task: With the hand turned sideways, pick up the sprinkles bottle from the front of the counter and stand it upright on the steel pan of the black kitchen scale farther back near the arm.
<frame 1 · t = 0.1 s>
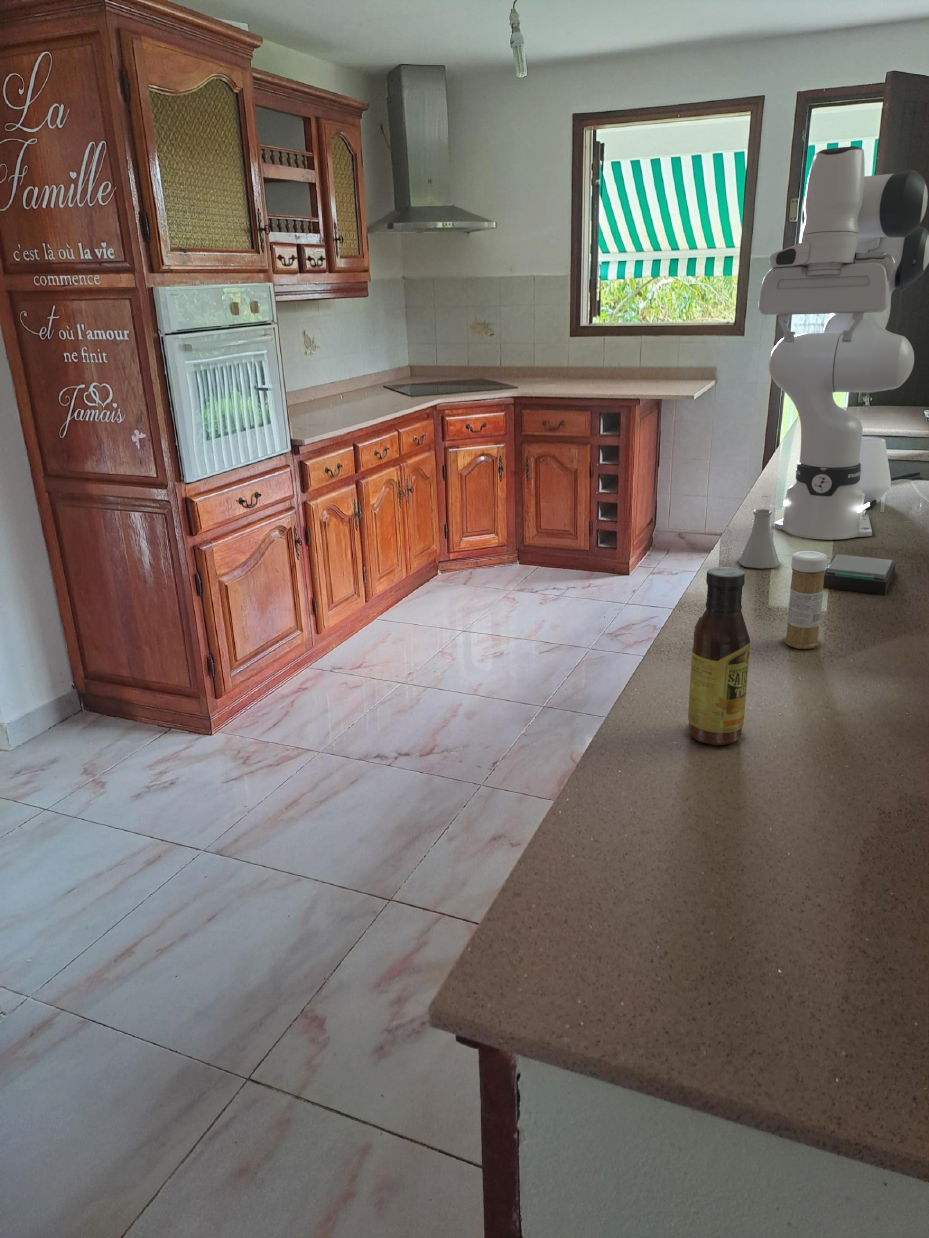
hand: (817, 342, 149), 39 cm above the counter, tool pointing down, fingers open, 8 cm apart
sauce bottle: (714, 736, 103), on the counter
flask: (758, 565, 162), on the counter
scale: (857, 580, 151), on the counter
sprinkles bottle: (801, 645, 126), on the counter
cup: (857, 500, 204), on the counter
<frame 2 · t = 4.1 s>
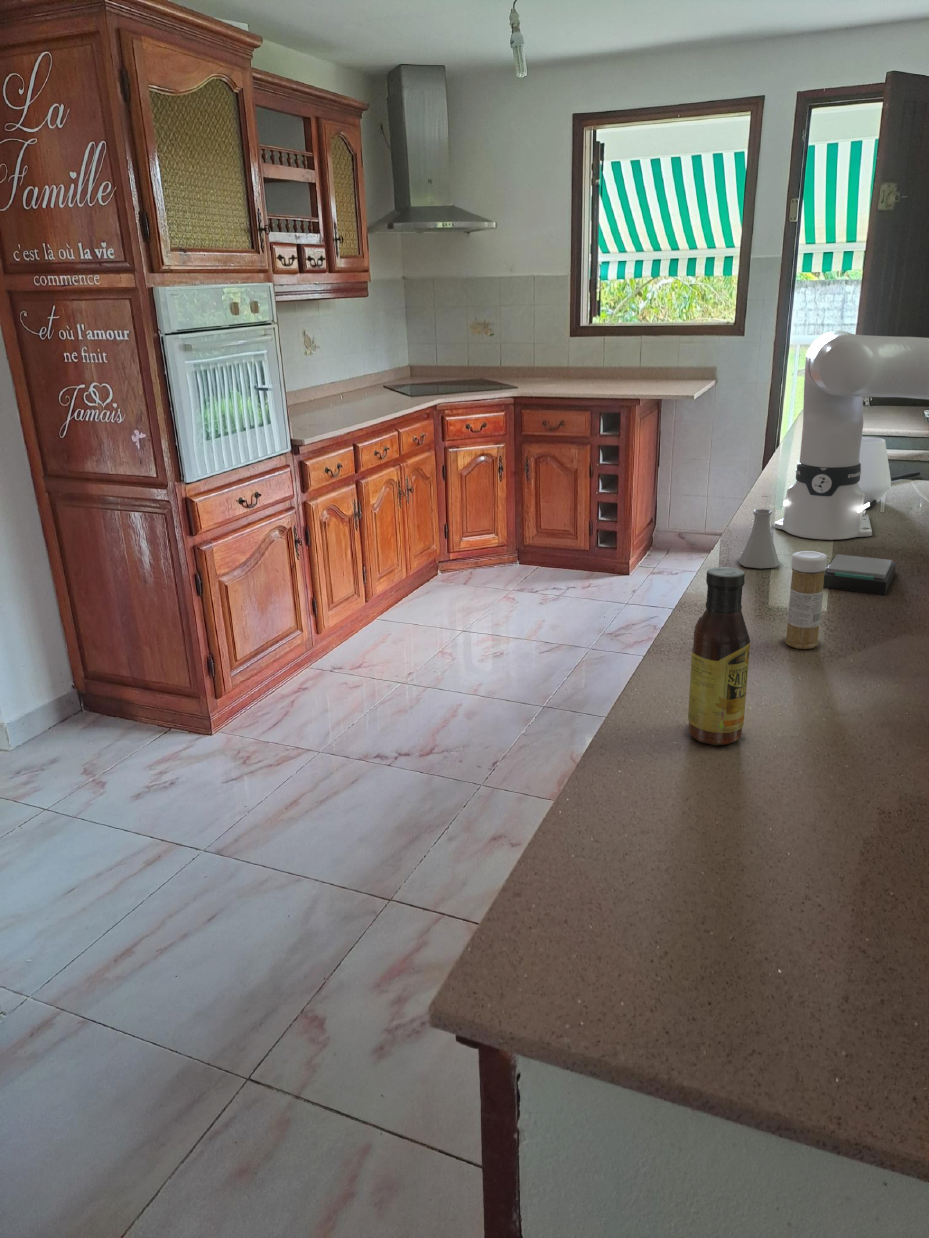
nothing on the counter moved.
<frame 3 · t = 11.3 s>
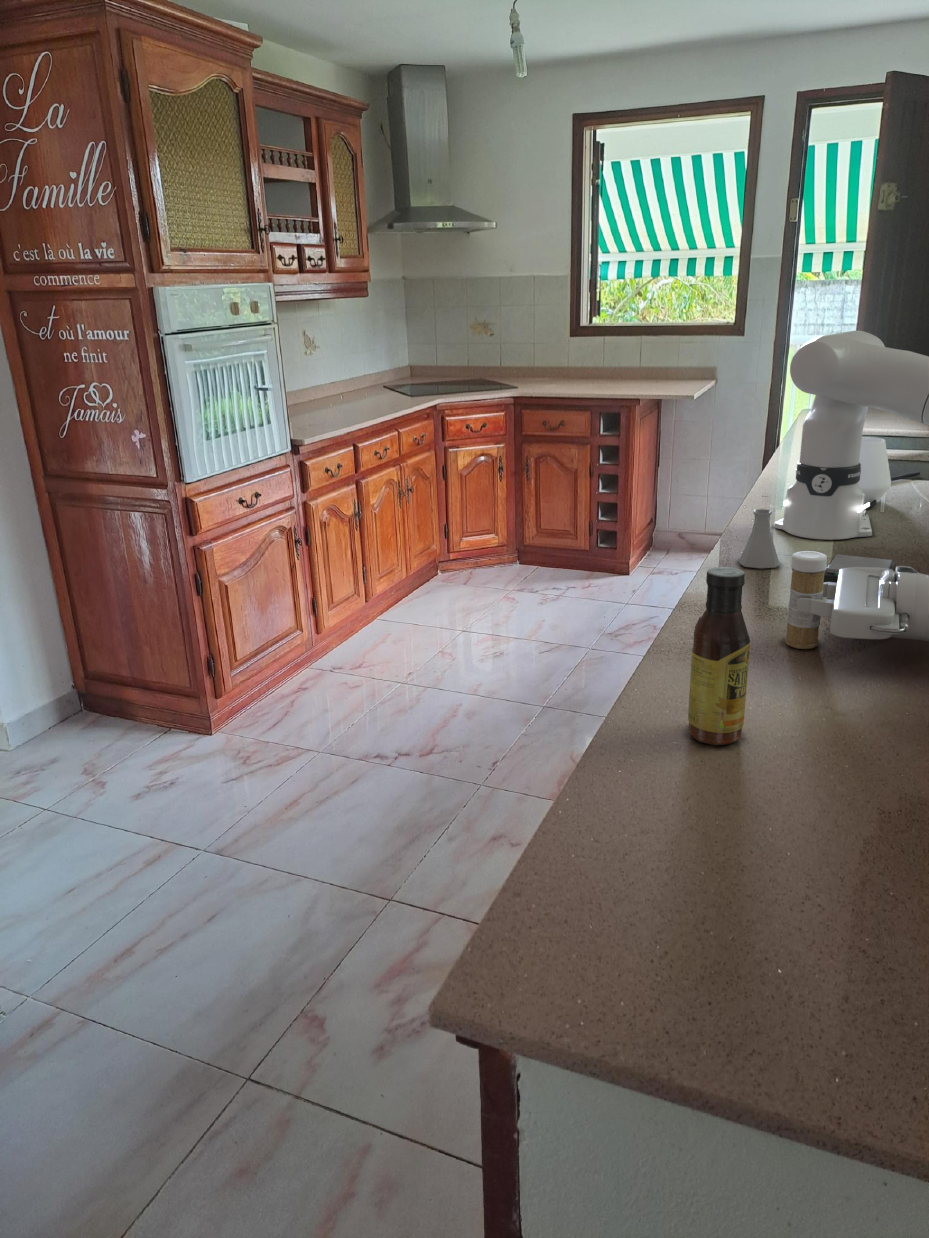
hand: (799, 596, 124), 7 cm above the counter, tool horizontal, fingers closed on sprinkles bottle, 4 cm apart
sprinkles bottle: (800, 645, 126), on the counter, touching gripper
everything else where it was.
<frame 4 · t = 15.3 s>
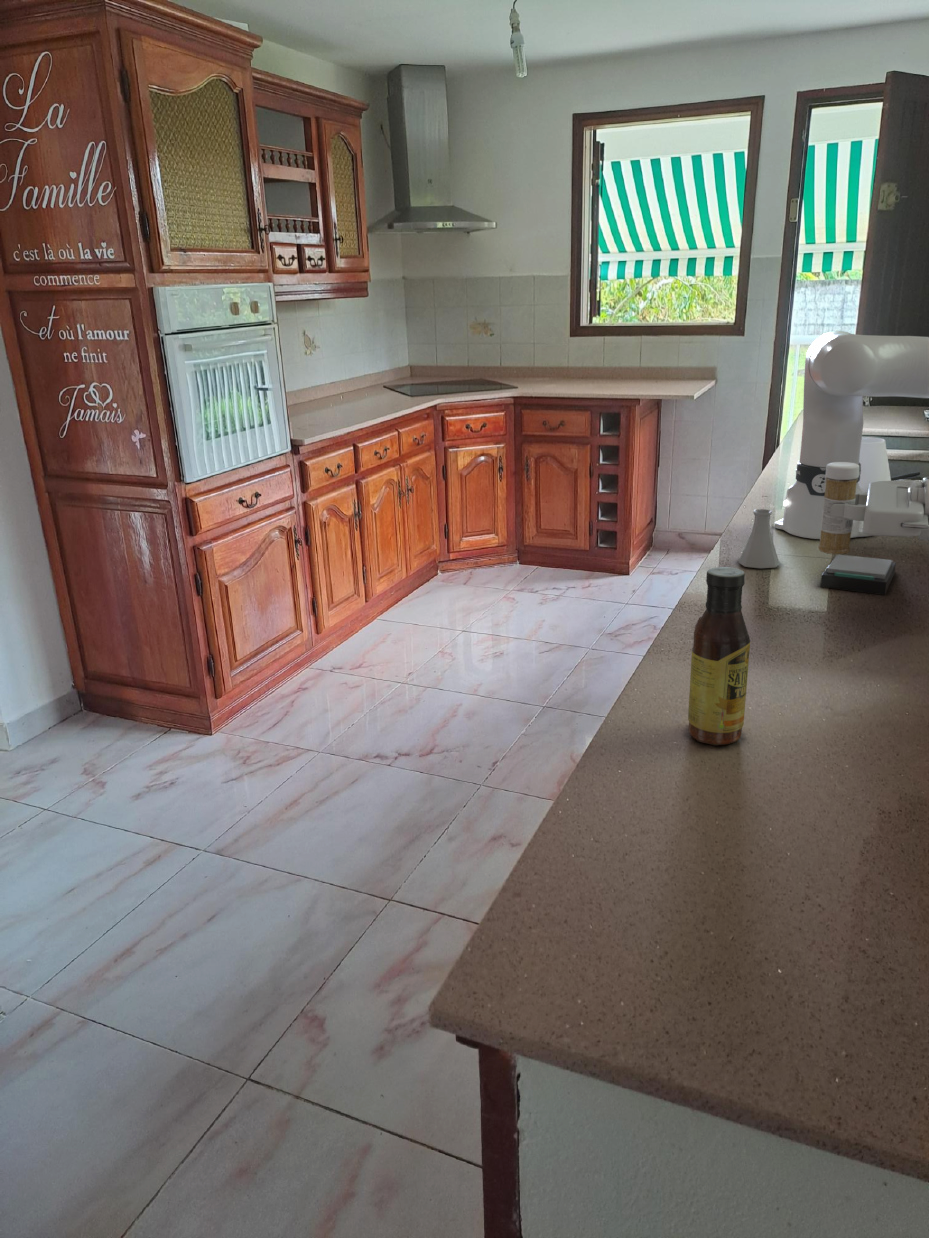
hand: (832, 504, 133), 17 cm above the counter, tool horizontal, fingers closed on sprinkles bottle, 4 cm apart
sprinkles bottle: (833, 552, 135), point 10 cm above the counter, touching gripper
everything else where it was.
when the fingers open (10 cm above the counter, at t = 19.8 s): sprinkles bottle stays where it is, resting on scale.
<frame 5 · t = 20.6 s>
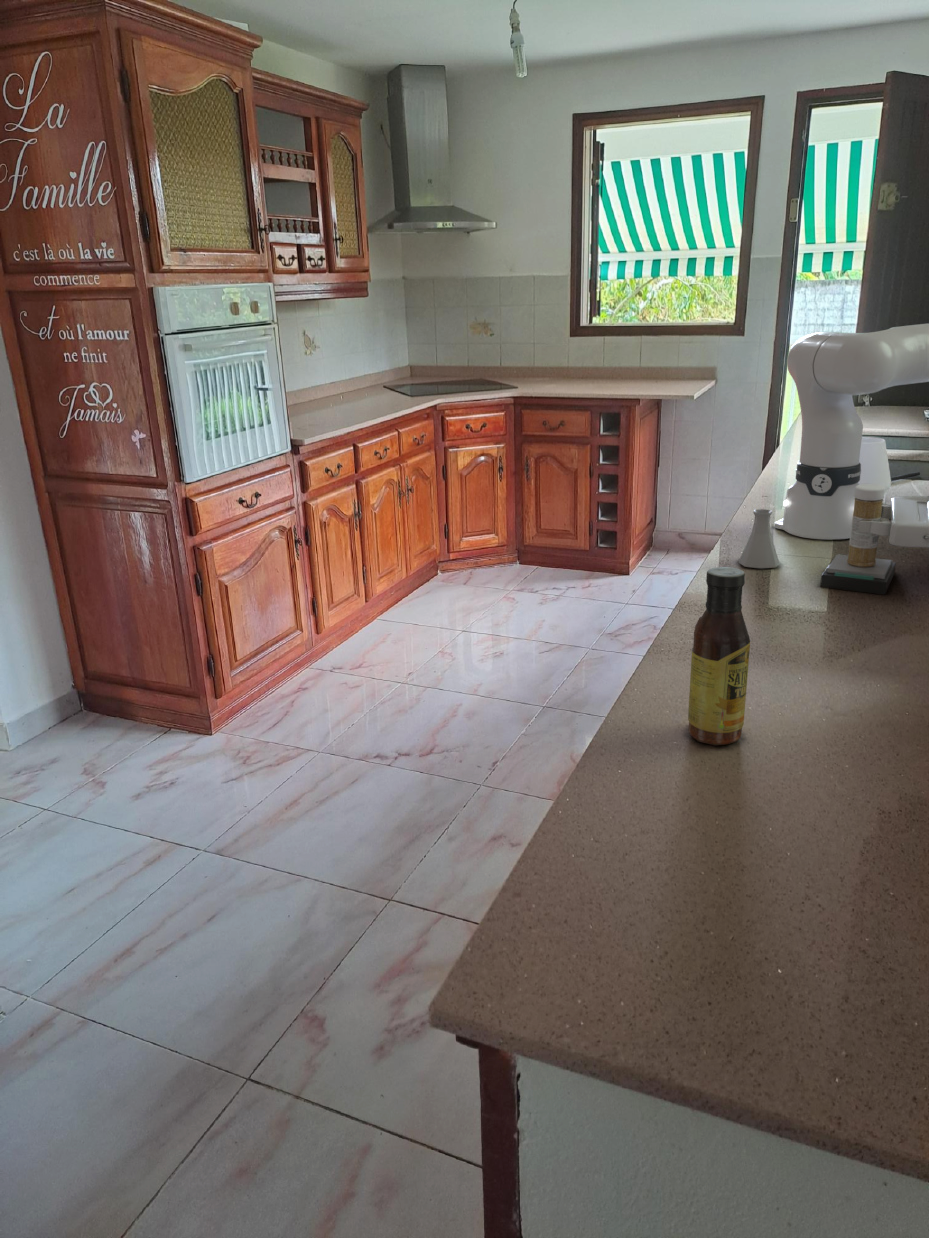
hand: (859, 518, 148), 11 cm above the counter, tool horizontal, fingers open, 8 cm apart
sprinkles bottle: (860, 565, 150), point 3 cm above the counter, touching scale
everything else where it was.
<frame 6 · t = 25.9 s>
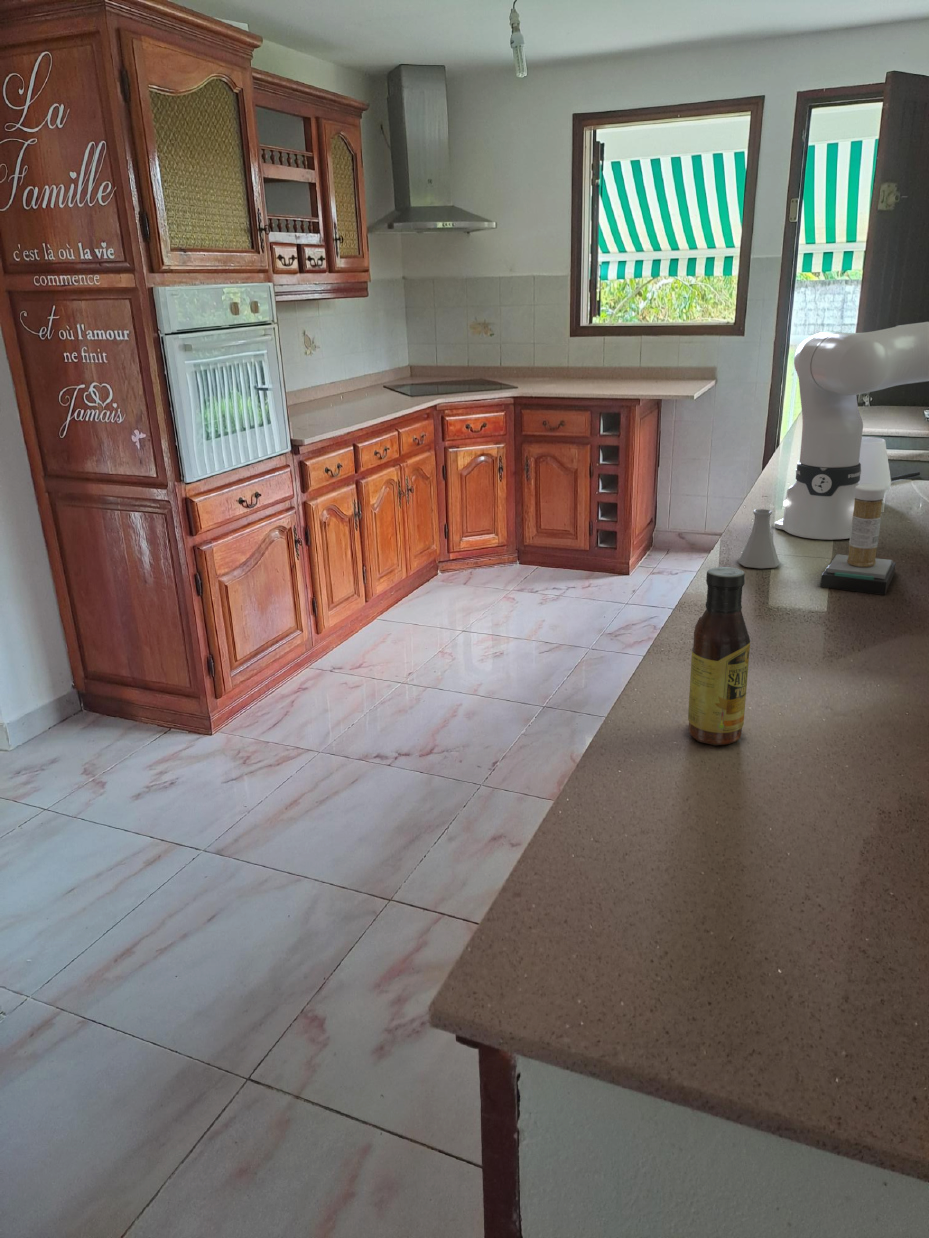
nothing on the counter moved.
at the end: sprinkles bottle inside the target area on the scale (0.2 cm from its centre), point 2.8 cm above the scale's base; sprinkles bottle tilted 0°; the gripper is holding nothing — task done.
